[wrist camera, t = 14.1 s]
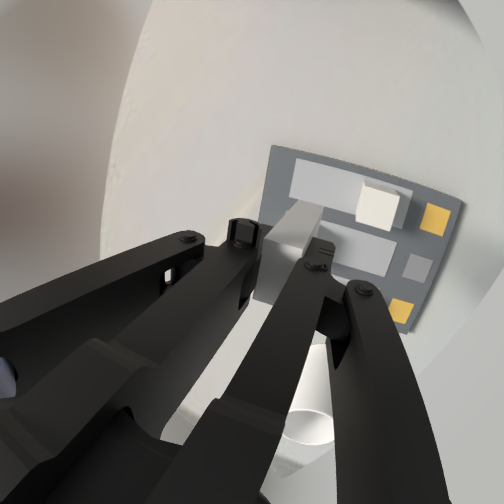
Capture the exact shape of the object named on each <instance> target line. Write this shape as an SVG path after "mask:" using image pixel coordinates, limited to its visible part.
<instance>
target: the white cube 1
mask: <svg viewBox="0 0 504 504" xmlns="http://www.w3.org/2000/svg"><path fill="white" fill-rule="evenodd" d="M399 199H400V196H399V195H398V193H397V192H396V190H395V189H392V188H389V187H385V186H382V185H379V184H376V183H372V182H369V181H365V180H364V181H363V185H362V189H361V193H360V197H359V201H358V205H357V209H356V221H357V222H360V223H363V224H367V225H370V226H373V227H377V228H380V229H383V230H386V231H390V229H391V226H392V223H393V219H394V216H395V213H396V209H397V206H398V202H399Z"/></svg>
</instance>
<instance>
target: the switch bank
mask: <svg viewBox="0 0 504 504" xmlns="http://www.w3.org/2000/svg"><path fill="white" fill-rule="evenodd" d="M364 180H365V181H369V182H372V183H376V184H379V185H382V186H385V187H389V188H392V189H395V190H396V192H397V193H398V195H399V196H400V199H399V202H398V206H397V209H396V213H395V216H394V219H393V223H392V226H391V229H390V231H386V230H383V229H380V228H377V227H373V226H370V225H367V224H363V223H360V222H357V221H356V209H357V205H358V201H359V197H360V193H361V189H362V185H363V181H364ZM298 200H303V201H306V202H310V203H314V204H318V205H321V206H324V209H323V214H322V218H321V222H320V226H319V230H318V234H317V238H319V239H323V240H326V241H330V242H333V244H334V245H335V247H336V249H335V253H334V258H333V262H332V266H331V275H332V276H333V278H334V279H336V280H338V281H342V282H345V283H348V282H349V281H350V280H354V279H357V280H363V281H368V282H369V283H372V284H373V285H374V286H376V287H377V288H378V289H379V290H380V292H381V293H382V296H383V298H384V300H385V302H386V305H387V307H388V309H389V312H390V314H391V316H392V319H393V321H394V323H395V326H396V328H397V331H398V332H399V333H403V334H406V335H407V333H408V331H409V329H410V327H411V326H412V324H413V322H414V320H415V318H416V316H417V314H418V312H419V310H420V308H421V305H422V303H423V301H424V299H425V297H426V295H427V293H428V290H429V288H430V286H431V284H432V282H433V279H434V277H435V275H436V272H437V270H438V267H439V265H440V262H441V260H442V257H443V255H444V252H445V250H446V247H447V244H448V242H449V239H450V236H451V233H452V231H453V228H454V225H455V222H456V219H457V216H458V213H459V209H460V206H461V203H462V201H461V200H460V199H458V198H455V197H453V196H450V195H447V194H445V193H442V192H439V191H437V190H434V189H431V188H428V187H426V186H423V185H420V184H417V183H414V182H411V181H408V180H405V179H402V178H399V177H396V176H393V175H390V174H386V173H383V172H380V171H377V170H373V169H370V168H366V167H363V166H359V165H356V164H352V163H348V162H345V161H341V160H337V159H333V158H329V157H325V156H321V155H317V154H313V153H308V152H304V151H300V150H295V149H290V148H286V147H281V146H276V145H271V150H270V156H269V161H268V167H267V173H266V179H265V184H264V190H263V196H262V201H261V207H260V213H259V219H258V223H260V224H262V223H263V224H266V225H270V226H275V225H276V224H277V223H278V222H279V221H280V220H281V219H282V217H283V216H284V215H285V214H286V213H287V212H288V211H289V210H290V209H291V207H292V206H293V205H294V204H295V203H296V202H297V201H298Z"/></svg>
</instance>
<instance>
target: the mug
mask: <svg viewBox="0 0 504 504" xmlns="http://www.w3.org/2000/svg"><path fill="white" fill-rule="evenodd" d="M282 435H283V436H285V437H286V438H288V439H290V440H292V441H294V442H297V443H300V444H305V445H324V444H328V443H331V442H333V441H334V426H333V413H332V401H331V390H330V380H329V370H328V361H327V352H326V344H316V345H312V346H310V349H309V352H308V355H307V359H306V362H305V365H304V368H303V371H302V374H301V377H300V380H299V383H298V386H297V389H296V392H295V395H294V398H293V401H292V404H291V407H290V410H289V412H288V415H287V418H286V421H285V428H284V431H283V433H282Z"/></svg>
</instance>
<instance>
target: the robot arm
mask: <svg viewBox="0 0 504 504" xmlns="http://www.w3.org/2000/svg"><path fill="white" fill-rule="evenodd" d="M323 209H324V206H321V205H318V204H314V203H310V202H306V201H303V200H298V201H297V202H296V203H295V204H294V205H293V206H292V207H291V209H290V210H289V211H288V212H287V213H286V214H285V215H284V216H283V217H282V219H281V220H280V221H279V222H278V223H277V224H276V225H275V226H270V225H266V224H263V223H262V224H260V223H258V222H256V221H253V220H250V219H245V218H235V219H231V220H229V225H228V233H227V240H226V241H225V242H224V243H222V244H221V245H220V246H219V247H215V246H208V245H205V237H204V236H203V235H202V234H200V233H197V232H195V231H191V230H187V231H180V232H176V233H173V234H170V235H168V236H165V237H162V238H159V239H157V240H154V241H151V242H149V243H146V244H143V245H140V246H138V247H135V248H132V249H130V250H127V251H125V252H122V253H119V254H117V255H114V256H112V257H109V258H106V259H104V260H101V261H99V262H96V263H94V264H91V265H89V266H86V267H84V268H81V269H79V270H76V271H74V272H71V273H69V274H66V275H64V276H62V277H59V278H57V279H55V280H52V281H50V282H47V283H45V284H43V285H40V286H38V287H35V288H33V289H31V290H29V291H26V292H24V293H22V294H19V295H17V296H15V297H13V298H10V299H8V300H6V301H4V302H2V303H0V504H271V503H270V502H269V501H268V500H267V498H266V497H265V496H264V495H263V494H262V493H261V492H260V488H261V486H262V484H263V481H264V479H265V477H266V474H267V471H268V469H269V467H270V465H271V462H272V460H273V457H274V454H275V452H276V449H277V447H278V444H279V442H280V439H281V436H282V433H283V431H284V428H285V421H286V418H287V415H288V412H289V410H290V407H291V404H292V401H293V398H294V395H295V392H296V389H297V386H298V383H299V380H300V377H301V374H302V371H303V368H304V365H305V362H306V359H307V355H308V352H309V349H310V346H311V342H312V339H313V336H314V332H315V330H316V331H318V332H320V333H321V334H323V335H325V336H327V338H326V343H325V344H326V352H327V361H328V370H329V380H330V390H331V401H332V413H333V426H334V441H335V456H336V457H335V458H336V478H337V479H336V480H337V504H452V503H451V501H450V500H449V496H448V491H447V486H446V482H445V478H444V473H443V468H442V464H441V460H440V457H439V452H438V449H437V445H436V442H435V438H434V434H433V431H432V427H431V424H430V421H429V417H428V414H427V411H426V408H425V405H424V401H423V398H422V395H421V392H420V390H419V387H418V384H417V381H416V378H415V375H414V372H413V370H412V367H411V364H410V361H409V359H408V356H407V353H406V351H405V348H404V346H403V343H402V341H401V338H400V336H399V333H398V331H397V328H396V326H395V323H394V321H393V319H392V316H391V314H390V312H389V309H388V307H387V305H386V302H385V300H384V298H383V296H382V293H381V292H380V290H379V289H378V288H377V287H376V286H374V285H373V284H372V283H369V282H368V281H363V280H357V279H354V280H350V281H349V282H348V283H347V285H344V284H342V283H340V282H338V281H337V280H336V279H334V278H333V276H332V275H331V266H332V262H333V258H334V253H335V249H336V247H335V245H334V244H333V242H330V241H326V240H323V239H319V238H317V234H318V230H319V226H320V222H321V218H322V214H323ZM169 269H171V280H170V281H168V282H165V272H166V271H167V270H169ZM253 290H254V294H253V299H255V300H258V301H261V302H264V303H267V304H270V305H273V307H272V309H271V311H270V312H269V314H268V316H267V318H266V320H265V322H264V323H263V325H262V327H261V329H260V331H259V332H258V334H257V336H256V338H255V340H254V341H253V343H252V345H251V347H250V349H249V350H248V352H247V354H246V356H245V357H244V359H243V361H242V363H241V364H240V366H239V368H238V370H237V371H236V373H235V375H234V376H233V378H232V380H231V382H230V383H229V385H228V387H227V388H226V390H225V392H224V393H223V395H222V396H221V398H220V399H217V398H215V399H214V400H212V401H211V403H210V404H209V406H208V407H207V408H206V410H205V412H204V413H203V415H202V416H201V418H200V419H199V421H198V423H197V424H196V426H195V427H194V429H193V430H192V432H191V434H190V435H189V437H188V438H187V440H186V441H185V443H184V444H183V446H182V445H178V444H174V443H170V442H166V441H162V440H160V437H161V433H162V431H163V428H164V427H165V425H166V423H167V422H168V421H169V419H170V418H171V416H172V415H173V414H174V412H175V411H176V409H177V408H178V407H179V405H180V404H181V402H182V401H183V400H184V398H185V397H186V395H187V394H188V392H189V391H190V390H191V388H192V387H193V385H194V384H195V382H196V381H197V380H198V378H199V377H200V375H201V374H202V372H203V371H204V369H205V368H206V367H207V365H208V364H209V362H210V361H211V359H212V358H213V356H214V355H215V353H216V352H217V350H218V349H219V348H220V346H221V345H222V343H223V342H224V340H225V339H226V337H227V336H228V334H229V333H230V331H231V330H232V328H233V327H234V325H235V324H236V322H237V321H238V319H239V318H240V316H241V315H242V313H243V312H244V310H245V309H246V307H247V306H248V304H249V300H250V294H251V293H252V291H253Z"/></svg>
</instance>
